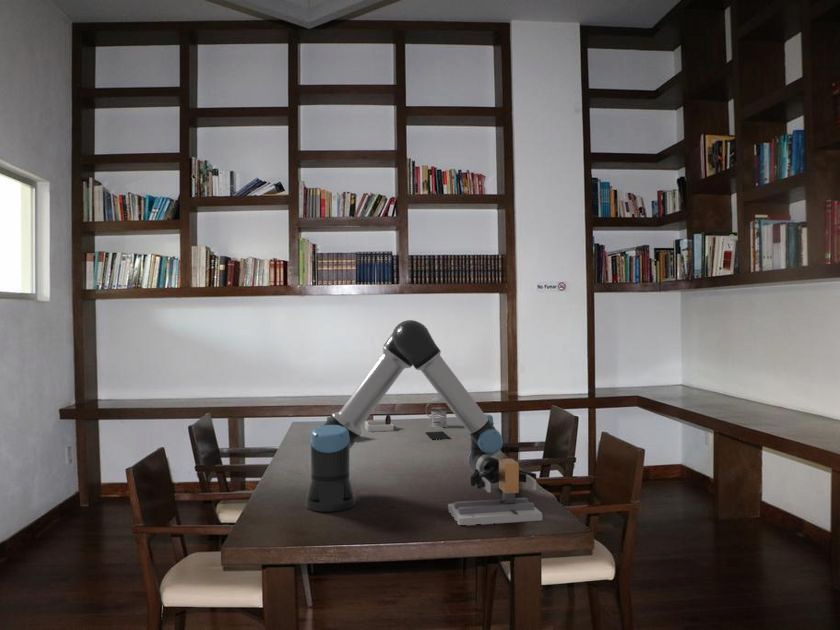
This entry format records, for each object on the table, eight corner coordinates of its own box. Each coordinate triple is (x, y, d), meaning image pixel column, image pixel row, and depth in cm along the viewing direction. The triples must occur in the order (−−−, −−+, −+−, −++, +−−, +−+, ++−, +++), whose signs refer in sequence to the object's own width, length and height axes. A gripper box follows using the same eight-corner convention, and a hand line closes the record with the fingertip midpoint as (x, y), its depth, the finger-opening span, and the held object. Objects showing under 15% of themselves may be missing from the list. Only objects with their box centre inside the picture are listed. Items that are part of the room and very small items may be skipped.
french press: (448, 428, 327) (448, 378, 327) (425, 428, 327) (425, 379, 327) (448, 424, 337) (447, 377, 337) (425, 425, 337) (425, 377, 337)
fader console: (459, 525, 178) (459, 512, 178) (448, 510, 192) (448, 498, 192) (542, 520, 182) (542, 507, 182) (525, 505, 196) (525, 493, 196)
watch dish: (367, 431, 319) (367, 425, 319) (364, 427, 332) (364, 421, 332) (393, 430, 322) (393, 424, 321) (390, 426, 334) (389, 420, 334)
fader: (504, 510, 185) (504, 463, 184) (498, 503, 190) (498, 459, 190) (519, 509, 185) (519, 463, 185) (512, 503, 191) (512, 458, 191)
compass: (372, 428, 328) (372, 414, 328) (387, 427, 331) (387, 413, 331) (377, 431, 320) (377, 416, 320) (392, 430, 323) (392, 415, 323)
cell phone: (442, 433, 316) (442, 431, 316) (451, 440, 299) (451, 438, 299) (425, 433, 315) (425, 432, 315) (432, 441, 297) (432, 439, 297)
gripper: (528, 478, 208) (553, 497, 187) (452, 482, 203) (470, 502, 182) (528, 455, 208) (553, 471, 187) (452, 458, 203) (469, 475, 182)
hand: (512, 486), depth 185 cm, fingers open, 13 cm apart
